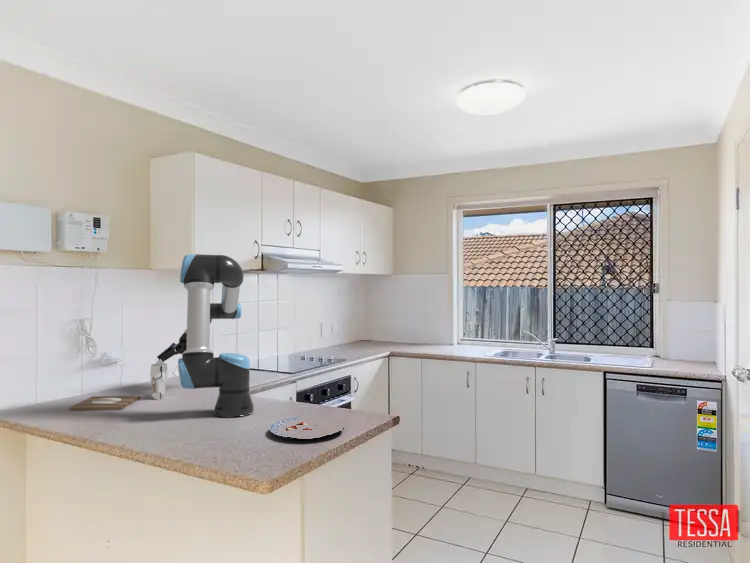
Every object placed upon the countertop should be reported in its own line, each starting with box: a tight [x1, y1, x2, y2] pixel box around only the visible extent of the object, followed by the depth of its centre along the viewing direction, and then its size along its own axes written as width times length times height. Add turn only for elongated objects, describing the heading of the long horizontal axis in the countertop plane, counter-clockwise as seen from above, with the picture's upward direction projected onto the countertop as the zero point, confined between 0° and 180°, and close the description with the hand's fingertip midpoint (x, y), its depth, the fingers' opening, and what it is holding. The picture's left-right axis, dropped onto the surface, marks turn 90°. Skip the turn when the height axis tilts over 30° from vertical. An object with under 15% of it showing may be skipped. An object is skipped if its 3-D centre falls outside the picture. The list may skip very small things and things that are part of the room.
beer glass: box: [149, 363, 168, 401], centre depth 224 cm, size 7×7×15 cm
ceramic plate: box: [269, 416, 317, 438], centre depth 174 cm, size 26×26×3 cm
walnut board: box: [68, 395, 141, 411], centre depth 212 cm, size 20×20×2 cm
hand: (164, 373), depth 227 cm, fingers open, 13 cm apart
